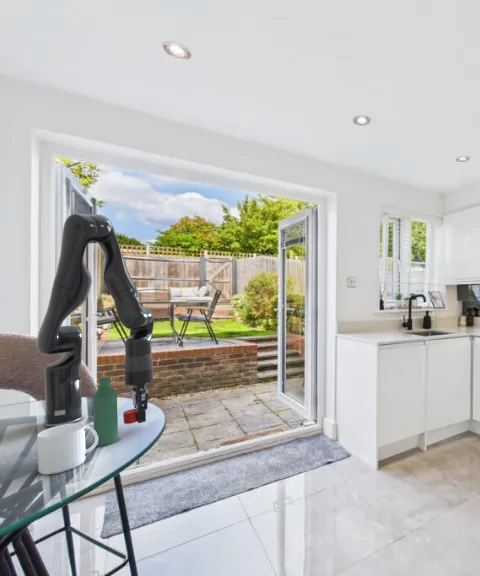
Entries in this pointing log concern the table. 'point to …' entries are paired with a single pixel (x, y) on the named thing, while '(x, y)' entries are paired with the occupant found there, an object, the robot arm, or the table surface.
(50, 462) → the mug
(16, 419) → the table surface
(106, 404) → the bottle
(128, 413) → the cap
